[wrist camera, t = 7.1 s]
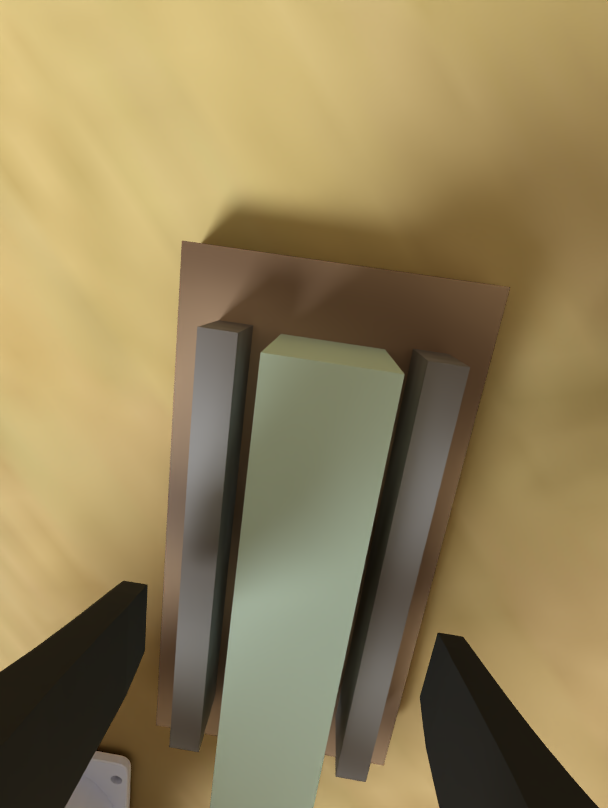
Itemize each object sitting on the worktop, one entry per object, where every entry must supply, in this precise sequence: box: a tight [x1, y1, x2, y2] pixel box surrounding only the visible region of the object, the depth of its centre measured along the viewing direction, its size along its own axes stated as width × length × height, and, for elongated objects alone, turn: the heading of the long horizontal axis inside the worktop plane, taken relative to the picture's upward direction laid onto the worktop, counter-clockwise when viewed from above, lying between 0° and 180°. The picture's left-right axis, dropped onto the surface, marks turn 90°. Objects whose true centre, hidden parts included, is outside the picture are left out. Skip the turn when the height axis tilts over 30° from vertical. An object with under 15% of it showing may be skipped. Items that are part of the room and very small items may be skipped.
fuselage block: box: [210, 334, 405, 808], centre depth 12 cm, size 14×3×4 cm, turn 172°
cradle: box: [156, 241, 510, 782], centre depth 14 cm, size 18×9×4 cm, turn 172°
